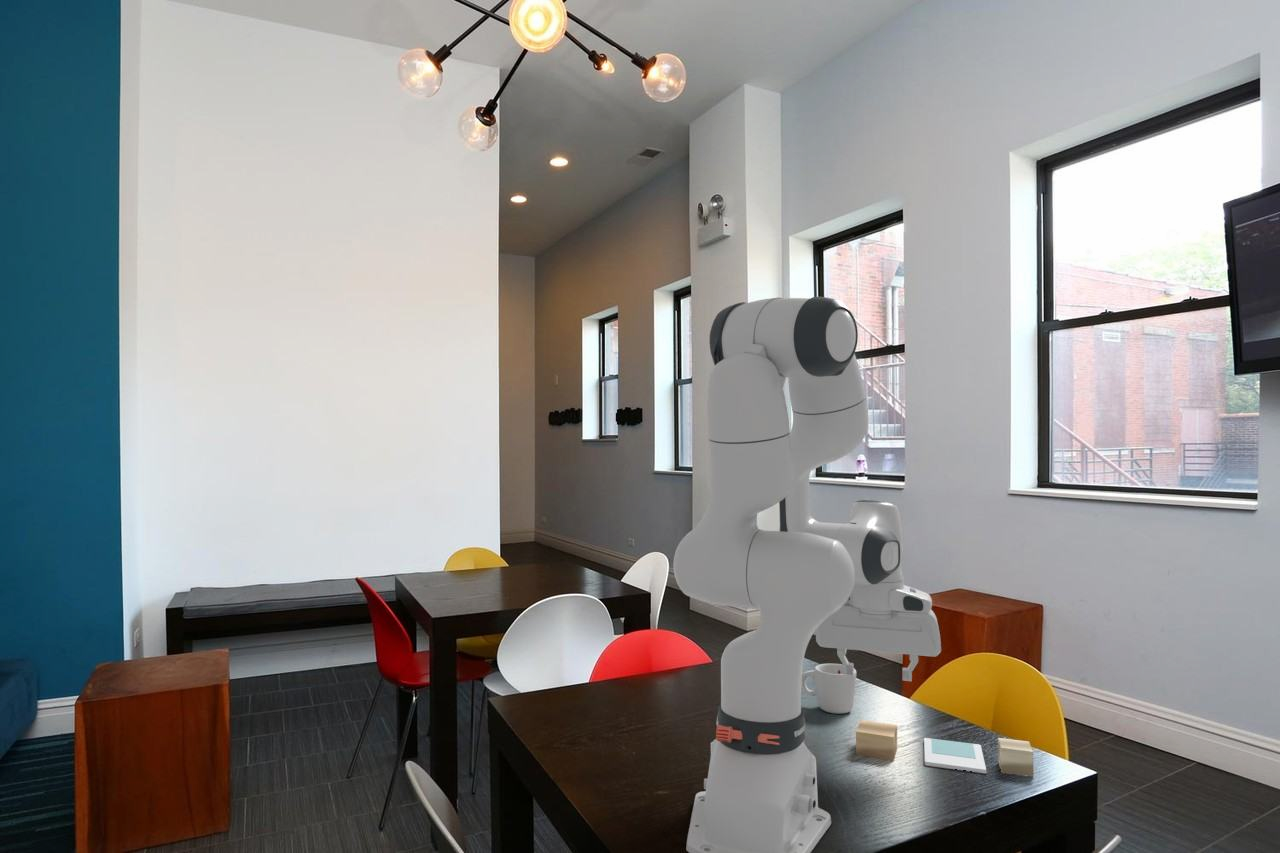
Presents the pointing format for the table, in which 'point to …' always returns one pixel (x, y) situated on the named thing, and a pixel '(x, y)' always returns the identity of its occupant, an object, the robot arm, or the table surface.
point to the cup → (832, 687)
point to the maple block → (1015, 757)
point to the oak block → (876, 740)
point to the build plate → (954, 755)
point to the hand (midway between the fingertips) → (877, 677)
